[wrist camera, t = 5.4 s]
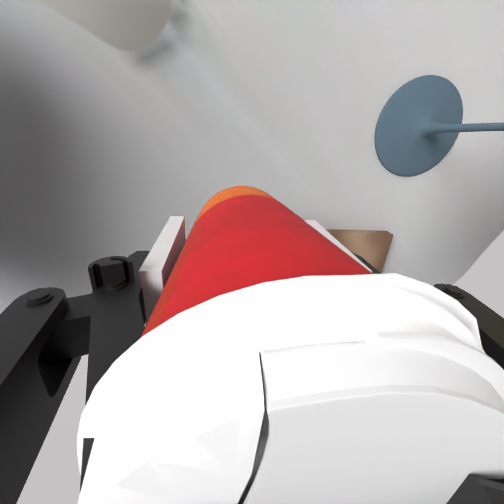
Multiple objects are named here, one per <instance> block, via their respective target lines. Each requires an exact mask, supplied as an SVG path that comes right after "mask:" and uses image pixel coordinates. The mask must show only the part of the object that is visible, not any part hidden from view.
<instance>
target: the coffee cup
mask: <svg viewBox="0 0 504 504" xmlns="http://www.w3.org/2000/svg"><path fill="white" fill-rule="evenodd" d="M83 438H95V439H94V442H93V446H92V450H91V454H90V457H89V461H88V465H87V469H86V472H85V476H84V480H83V484H82V488H81V492H80V496H79V500H78V504H446V503H447V502H448V501H449V499H450V498H451V497H452V495H453V494H454V493H455V492H456V490H457V489H458V488H459V486H460V485H461V484H462V482H463V481H464V480H465V478H466V477H467V476H468V475H469V474H470V475H474V476H477V477H481V478H484V479H504V370H503V369H502V368H501V367H500V366H499V365H498V364H497V363H496V362H495V361H494V360H493V359H492V358H490V357H489V356H488V355H486V353H485V352H484V350H483V348H482V345H481V340H480V335H479V330H478V324H477V319H476V318H475V317H474V316H473V315H472V314H471V313H470V312H469V311H468V310H467V309H466V308H465V307H464V306H462V305H461V304H460V303H459V302H458V301H457V300H456V299H454V298H452V297H451V296H449V295H447V294H445V293H444V292H442V291H440V290H439V289H437V288H435V287H433V286H432V285H430V284H428V283H425V282H422V281H419V280H416V279H413V278H410V277H407V276H404V275H401V274H397V273H386V274H373V273H371V272H370V271H369V270H368V269H366V268H365V267H364V266H362V265H361V264H360V263H358V262H357V261H356V260H355V259H353V258H352V257H351V256H349V255H348V254H347V253H345V252H344V251H343V250H342V249H340V248H339V247H338V246H336V245H335V244H334V243H333V242H331V241H330V240H329V239H327V238H326V237H325V236H323V235H322V234H321V233H320V232H318V231H317V230H316V229H314V228H313V227H312V226H311V225H309V224H308V223H307V222H305V221H304V220H303V219H301V218H300V217H299V216H297V215H296V214H295V213H293V212H292V211H291V210H290V209H288V208H287V207H286V206H284V205H283V204H282V203H280V202H279V201H277V200H276V199H275V198H273V197H272V196H270V195H269V194H267V193H265V192H263V191H262V190H259V189H257V188H253V187H248V186H236V187H231V188H227V189H225V190H222V191H220V192H219V193H217V194H215V195H214V196H213V197H212V198H211V199H210V200H209V201H208V202H207V203H206V204H205V206H204V207H203V209H202V210H201V212H200V214H199V216H198V217H197V219H196V221H195V223H194V225H193V227H192V229H191V232H190V234H189V236H188V238H187V240H186V242H185V244H184V246H183V248H182V250H181V252H180V255H179V257H178V259H177V261H176V263H175V265H174V267H173V269H172V272H171V274H170V276H169V278H168V280H167V282H166V284H165V286H164V289H163V291H162V293H161V295H160V297H159V299H158V301H157V303H156V306H155V308H154V310H153V312H152V314H151V316H150V318H149V320H148V323H147V325H146V327H145V329H144V331H143V333H142V335H141V337H140V339H139V340H138V341H137V342H136V343H135V344H133V345H132V346H131V347H130V348H129V349H128V350H127V351H126V352H124V353H123V354H122V355H121V356H120V357H119V358H118V359H116V360H115V361H114V363H113V364H112V365H111V367H110V368H109V369H108V370H107V372H106V373H105V374H104V376H103V377H102V378H101V379H100V381H99V382H98V383H97V385H96V386H95V388H94V390H93V392H92V394H91V396H90V398H89V400H88V402H87V404H86V407H85V409H84V411H83V413H82V415H81V419H80V425H79V430H78V436H77V453H78V464H79V473H80V476H81V468H82V452H83Z"/></svg>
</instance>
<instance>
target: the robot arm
mask: <svg viewBox="0 0 504 504" xmlns="http://www.w3.org/2000/svg"><path fill="white" fill-rule="evenodd" d="M304 221H305V222H307V223H308V224H309V225H311V226H312V227H313V228H314V229H316V230H317V231H318V232H320V233H321V234H322V235H323V236H325V237H326V238H327V239H329V240H330V241H331V242H333V243H334V244H335V245H336V246H338V247H339V248H340V249H342V250H343V251H344V252H345V253H347V254H348V255H349V256H351V257H352V258H353V259H355V260H356V261H357V262H358V263H360V264H361V265H362V266H364V267H365V268H366V269H368V270H369V271H370V272H371V273H373V274H381V273H380V272H379V271H378V270H377V269H375V268H374V267H372V265H371V264H370V263H367V261H366V260H365V259H364V258H363V257H361V256H359V255H357V254H355V253H351V252H350V251H349V250H348V249H347V248H346V247H344V246H343V245H342V244H341V243H340V242H339V241H338V240H337V239H335V238H334V237H333V236H332V235H331V234H330V233H329V232H328V231H326V230H325V229H324V228H323V227H322V226H321V225H320V224H319V223H317V222H316V221H315V220H304ZM184 244H185V220H184V216H171V217H170V218H169V220H168V222H167V223H166V225H165V227H164V229H163V230H162V232H161V234H160V235H159V237H158V239H157V241H156V242H155V244H154V246H153V247H152V249H151V251H137V252H135V253H133V254H131V255H130V256H129V257H128V258H127V257H122V256H112V257H106V258H102V259H99V260H96V261H94V262H93V263H91V264H90V265H89V267H88V271H89V276H90V280H91V285H92V289H93V291H92V293H91V294H88V295H83V296H78V297H72V298H66V295H65V292H64V291H63V289H60V288H50V287H49V288H39V289H36V290H32V291H29V292H28V293H26V294H24V295H21V296H20V297H18V298H17V299H16V300H14V301H13V302H12V303H11V304H10V305H9V306H8V307H7V308H6V309H5V310H4V311H3V312H2V313H1V314H0V504H16V503H17V501H18V498H19V496H20V494H21V492H22V489H23V487H24V485H25V483H26V480H27V478H28V476H29V474H30V471H31V469H32V467H33V464H34V462H35V460H36V458H37V456H38V454H39V451H40V449H41V447H42V445H43V442H44V440H45V438H46V435H47V433H48V431H49V429H50V427H51V424H52V422H53V420H54V417H55V415H56V413H57V411H58V408H59V406H60V404H61V402H62V400H63V397H64V395H65V393H66V391H67V388H68V386H69V384H70V382H71V379H72V377H73V375H74V373H75V370H76V368H77V365H78V363H79V361H80V359H81V356H82V355H86V354H89V357H88V372H87V388H86V404H87V402H88V400H89V398H90V396H91V394H92V392H93V390H94V388H95V386H96V385H97V383H98V382H99V381H100V379H101V378H102V377H103V376H104V374H105V373H106V372H107V370H108V369H109V368H110V367H111V365H112V364H113V363H114V361H115V360H116V359H118V358H119V357H120V356H121V355H122V354H123V353H124V352H126V351H127V350H128V349H129V348H130V347H131V346H132V345H133V344H135V343H136V342H137V341H138V340H139V339H140V337H141V335H142V333H143V331H144V329H145V326H144V324H145V323H146V325H147V323H148V320H149V318H150V316H151V314H152V312H153V310H154V308H155V306H156V303H157V301H158V299H159V297H160V295H161V293H162V291H163V289H164V286H165V284H166V282H167V280H168V278H169V276H170V274H171V272H172V269H173V267H174V265H175V263H176V261H177V259H178V257H179V255H180V252H181V250H182V248H183V246H184ZM433 287H435V288H437V289H439V290H440V291H442V292H444V293H445V294H447V295H449V296H451V297H452V298H454V299H456V300H457V301H458V302H459V303H460V304H461V305H462V306H464V307H465V308H466V309H467V310H468V311H469V312H470V313H471V314H472V315H473V316H474V317H475V318H476V319H477V324H478V330H479V335H480V340H481V345H482V348H483V350H484V352H485V353H486V355H488V356H489V357H490V358H492V359H493V360H494V361H495V362H496V363H497V364H498V365H499V366H500V367H501V368H502V369H503V370H504V318H502V317H501V316H499V315H498V314H497V313H495V312H494V311H493V310H491V309H490V308H488V307H487V306H486V305H484V304H483V303H482V302H480V301H479V300H477V299H476V298H475V297H473V296H472V295H471V294H469V293H467V292H466V291H464V290H462V289H460V288H458V287H457V286H452V285H449V284H447V285H446V284H436V285H434V286H433ZM85 407H86V406H85ZM94 439H95V438H83V452H82V468H81V484H80V492H81V488H82V484H83V480H84V476H85V472H86V469H87V465H88V461H89V457H90V454H91V450H92V446H93V442H94ZM446 504H504V479H484V478H481V477H477V476H474V475H470V474H469V475H468V476H467V477H466V478H465V480H464V481H463V482H462V484H461V485H460V486H459V488H458V489H457V490H456V492H455V493H454V494H453V495H452V497H451V498H450V499H449V501H448V502H447V503H446Z"/></svg>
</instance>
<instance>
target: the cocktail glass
mask: <svg viewBox="0 0 504 504" xmlns="http://www.w3.org/2000/svg"><path fill="white" fill-rule="evenodd" d="M462 117H463V107H462V100H461V97H460V94H459V92H458V90H457V88H456V87H455V86H454V85H453V84H452V83H451V82H450V81H449V80H447V79H446V78H443V77H440V76H435V75H427V76H422V77H418V78H416V79H414V80H411V81H409V82H408V83H406V84H405V85H403V86H402V87H401V88H399V89H398V90H397V91H396V92H395V93H394V94H393V95H392V97H391V98H390V99H389V100H388V102H387V103H386V105H385V106H384V108H383V110H382V112H381V114H380V117H379V119H378V122H377V126H376V131H375V148H376V152H377V155H378V158H379V160H380V161H381V163H382V164H383V165H384V167H385V168H386V169H388V170H389V171H391V172H392V173H395V174H398V175H403V176H411V175H417V174H420V173H422V172H425V171H427V170H429V169H430V168H432V167H433V166H435V165H436V164H437V163H438V162H439V161H441V160H442V159H443V157H444V156H445V155H446V154H447V153H448V151H449V150H450V149H451V147H452V146H453V144H454V142H455V140H456V138H457V136H458V133H459V132H474V131H504V123H479V124H461V123H462Z"/></svg>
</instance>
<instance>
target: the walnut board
mask: <svg viewBox="0 0 504 504" xmlns="http://www.w3.org/2000/svg"><path fill="white" fill-rule="evenodd" d="M326 231H328V232H329V233H330V234H331V235H332V236H333V237H334V238H335V239H337V240H338V241H339V242H340V243H341V244H342V245H343V246H344V247H346V248H347V249H348V250H349V251H350V252H351V253H355V254H357V255H359V256H361V257H363V258H364V259H365V260H366V261H367V263H370V264H371V265H372V267H374V268H375V269H377V270H378V271H379V272H380V273H382V269H383V266H384V263H385V260H386V257H387V254H388V250H389V247H390V244H391V241H392V238H393V234H391V233H389V232H388V231H364V230H326Z"/></svg>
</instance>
